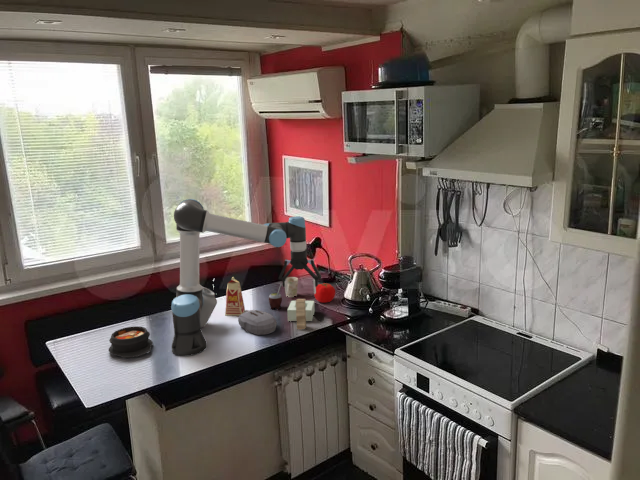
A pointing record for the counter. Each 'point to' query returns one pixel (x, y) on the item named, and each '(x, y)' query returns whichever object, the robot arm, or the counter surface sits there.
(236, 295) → the milk carton
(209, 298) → the jar
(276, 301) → the mate gourd
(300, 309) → the peg
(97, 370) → the counter surface
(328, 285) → the tomato
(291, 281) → the mug
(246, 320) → the small grey backpack
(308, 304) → the socket block
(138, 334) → the casserole
